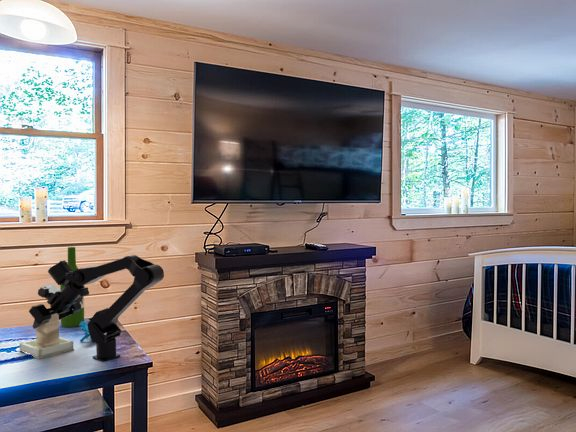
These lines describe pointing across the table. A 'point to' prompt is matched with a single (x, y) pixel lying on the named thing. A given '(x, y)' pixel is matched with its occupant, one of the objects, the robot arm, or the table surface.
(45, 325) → the maple block
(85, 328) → the gear
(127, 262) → the robot arm
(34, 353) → the sage tray
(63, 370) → the table surface
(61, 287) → the wine bottle
